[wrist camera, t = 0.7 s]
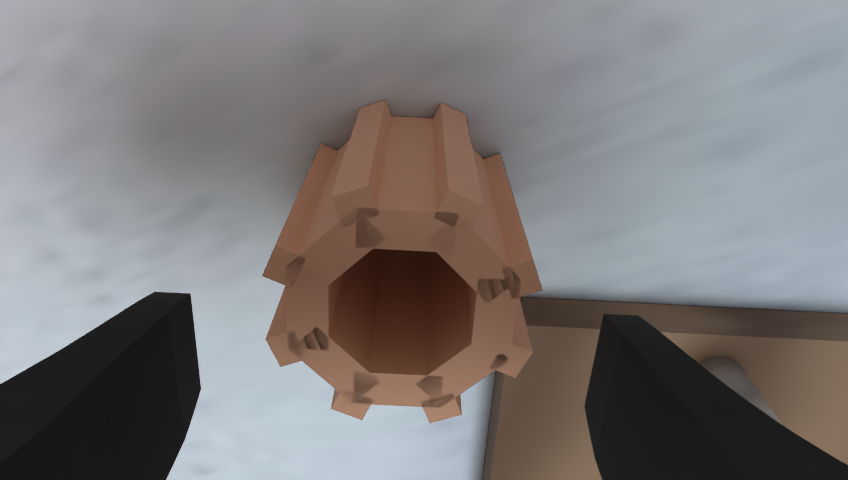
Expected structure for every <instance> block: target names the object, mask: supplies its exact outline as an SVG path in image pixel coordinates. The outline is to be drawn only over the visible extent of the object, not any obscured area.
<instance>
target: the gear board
mask: <svg viewBox="0 0 848 480" xmlns="http://www.w3.org/2000/svg"><path fill="white" fill-rule="evenodd" d="M519 298H520V302H521V306H522V310H523V314H524V318H525V322H526V327H527V331H528V335H529V339H530V343H531V347H532V351H533V353H532V354H531V356H530V357H529V359H528V360H527V362H526V363H525V365H524V366H523V368H522V369H521V371H520V372H519V374H518V375H517V376H516V378H514V377H512V376H509V375H507V374H504V373H502V372H499V371H497V370H496V374H495V382H494V389H493V397H492V405H491V412H490V420H489V428H488V435H487V443H486V451H485V458H484V466H483V474H482V480H602V478H601V475H600V472H599V469H598V466H597V463H596V460H595V457H594V452H593V448H592V443H591V438H590V434H589V428H588V423H587V417H586V412H585V407H584V405H585V401H586V396H587V391H588V386H589V381H590V377H591V372H592V367H593V362H594V357H595V352H596V348H597V343H598V338H599V333H600V328H601V323H602V319H603V314H618V315H638V316H640V317H641V318H642V319H644V320H645V321H647V322H648V323H649V324H651V325H652V326H653V327H655V328H656V329H657V330H658V331H660V332H661V333H662V334H663V335H665V336H666V337H667V338H668V339H670V340H671V341H672V342H673V343H674V344H676V345H677V346H678V347H679V348H681V349H682V350H683V351H684V352H685V353H687V354H688V355H689V356H690V357H692V358H693V359H694V360H695V361H697V362H698V363H699V364H700V365H702V366H703V367H704V368H705V369H707V370H708V371H709V372H710V373H712V374H713V375H714V376H715V377H717V378H718V379H719V380H721V381H722V382H723V383H725V384H726V385H727V386H728V387H730V388H731V389H732V390H734V391H735V392H736V393H738V394H739V395H740V396H742V397H743V398H745V399H746V400H747V401H749V402H750V403H752V404H753V405H754V406H756V407H757V408H759V409H760V410H761V411H763V412H764V413H766V414H767V415H769V416H770V417H771V418H773V419H774V420H776V421H777V422H779V423H780V424H782V425H783V426H785V427H786V428H788V429H789V430H791V431H792V432H794V433H795V434H797V435H798V436H800V437H802V438H803V439H805V440H807V441H808V442H810V443H812V444H813V445H815V446H817V447H818V448H820V449H821V450H823V451H825V452H826V453H828V454H830V455H831V456H833V457H835V458H836V459H838V460H840V461H841V462H843V463H845V464H847V465H848V314H842V313H822V312H802V311H783V310H763V309H744V308H724V307H704V306H685V305H665V304H645V303H626V302H606V301H586V300H567V299H547V298H528V297H519Z"/></svg>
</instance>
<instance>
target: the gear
mask: <svg viewBox="0 0 848 480" xmlns="http://www.w3.org/2000/svg"><path fill="white" fill-rule="evenodd" d="M262 276H264V277H266V278H269V279H271V280H274V281H276V282H279V283H281V284H284V285H286V286H285V289H284V291H283V294H282V297H281V299H280V302H279V305H278V307H277V310H276V313H275V315H274V318H273V321H272V323H271V326H270V329H269V332H268V334H267V337H266V341H267V343H268V344H269V346H270V348H271V350H272V352H273V354H274V356H275V357H276V359H277V361H278V363H279V365H280V367H282V366H285V365H288V364H292V363H295V362H299V361H303V362H304V363H305V364H306V365H308V366H309V367H310V368H311V369H312V370H314V371H315V372H316V373H317V374H318V375H319V376H321V377H322V378H323V379H324V380H325V381H327V382H328V383H329V384H330V385H331V386H333V387H334V388H335V390H334V395H333V401H332V406H331V409H333V410H336V411H339V412H342V413H344V414H347V415H350V416H352V417H355V418H358V419H360V420H362V419H363V418H364V416H365V414H366V412H367V411H368V409H369V407H370V405H371V404H375V405H396V406H417V407H423V409H424V411H425V413H426V416H427V418H428V420H429V422H430V423H433V422H436V421H440V420H444V419H447V418H451V417H455V416H459V415H462V412H461V398H460V394H461V393H463V392H464V391H466V390H467V389H468V388H470V387H471V386H473V385H474V384H476V383H477V382H479V381H480V380H481V379H483V378H484V377H486V376H487V375H489V374H490V373H492V372H493V371H494V370H497V371H499V372H502V373H504V374H507V375H509V376H512V377H514V378H516V376H517V375H518V374H519V372H520V371H521V369H522V368H523V366H524V365H525V363H526V362H527V360H528V359H529V357H530V356H531V354H532V353H533V351H532V347H531V343H530V339H529V335H528V331H527V327H526V322H525V318H524V314H523V310H522V306H521V302H520V298H519V297H521V296H525V295H528V294H532V293H535V292H538V291H542V287H541V283H540V280H539V277H538V274H537V271H536V267H535V264H534V261H533V258H532V255H531V251H530V248H529V245H528V242H527V239H526V235H525V232H524V229H523V226H522V223H521V219H520V216H519V213H518V210H517V207H516V203H515V200H514V197H513V194H512V190H511V187H510V184H509V181H508V178H507V174H506V171H505V168H504V165H503V162H502V158H501V155H500V154H497V155H494V156H491V157H488V158H485V159H483V158H482V157H481V156H480V155H479V154H478V153H477V151H476V150H475V149H474V148H473V147H472V145H471V140H470V135H469V130H468V125H467V120H466V115H465V114H464V113H462V112H460V111H458V110H456V109H454V108H452V107H450V106H447V105H445V104H443V103H440V105H439V107H438V109H437V111H436V113H435V115H434V117H433V118H418V117H401V116H392V115H391V113H390V110H389V107H388V105H387V102H386V99H384V100H382V101H379V102H376V103H373V104H370V105H367V106H364V107H361V108H360V109H359V112H358V115H357V118H356V121H355V124H354V127H353V130H352V133H351V137H350V140H349V141H348V142H347V143H345V144H344V145H343V146H342V147H341V148H340V149H339V150H338V151H337V150H334V149H332V148H330V147H328V146H326V145H323V144H320V147H319V149H318V151H317V153H316V156H315V158H314V160H313V162H312V165H311V167H310V169H309V171H308V174H307V176H306V178H305V180H304V183H303V185H302V187H301V189H300V191H299V194H298V196H297V198H296V200H295V203H294V205H293V207H292V209H291V212H290V214H289V216H288V218H287V221H286V223H285V225H284V227H283V229H282V232H281V234H280V236H279V238H278V241H277V243H276V245H275V247H274V250H273V252H272V254H271V257H270V259H269V261H268V264H267V266H266V268H265V271H264V273H263V275H262Z"/></svg>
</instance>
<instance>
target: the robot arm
mask: <svg viewBox="0 0 848 480" xmlns="http://www.w3.org/2000/svg"><path fill="white" fill-rule="evenodd" d="M200 390H201V386H200V377H199V368H198V359H197V349H196V340H195V331H194V322H193V313H192V304H191V295H190V294H186V293H165V292H154V293H152V294H150V295H148V296H146V297H145V298H143V299H141V300H140V301H138V302H136V303H135V304H133V305H131V306H130V307H128V308H127V309H125V310H123V311H122V312H120V313H119V314H117V315H116V316H114V317H112V318H111V319H109V320H108V321H106V322H105V323H103V324H101V325H100V326H98V327H97V328H95V329H93V330H92V331H90V332H89V333H87V334H85V335H84V336H82V337H81V338H79V339H77V340H76V341H74V342H73V343H71V344H69V345H68V346H66V347H65V348H63V349H61V350H60V351H58V352H56V353H54V354H53V355H51V356H49V357H47V358H46V359H44V360H42V361H40V362H39V363H37V364H35V365H33V366H32V367H30V368H28V369H26V370H25V371H23V372H21V373H19V374H18V375H16V376H14V377H12V378H11V379H9V380H7V381H5V382H3V383H2V384H0V480H166V478H167V476H168V474H169V472H170V470H171V468H172V466H173V464H174V462H175V459H176V457H177V455H178V453H179V451H180V449H181V447H182V444H183V442H184V440H185V437H186V434H187V431H188V428H189V425H190V422H191V419H192V416H193V413H194V410H195V406H196V403H197V400H198V397H199V393H200ZM584 407H585V412H586V417H587V423H588V428H589V434H590V438H591V443H592V448H593V452H594V457H595V460H596V463H597V466H598V469H599V472H600V475H601V478H602V480H848V465H847V464H845V463H843V462H841V461H840V460H838V459H836V458H835V457H833V456H831V455H830V454H828V453H826V452H825V451H823V450H821V449H820V448H818V447H817V446H815V445H813V444H812V443H810V442H808V441H807V440H805V439H803V438H802V437H800V436H798V435H797V434H795V433H794V432H792V431H791V430H789V429H788V428H786V427H785V426H783V425H782V424H780V423H779V422H777V421H776V420H774V419H773V418H771V417H770V416H769V415H767V414H766V413H764V412H763V411H761V410H760V409H759V408H757V407H756V406H754V405H753V404H752V403H750V402H749V401H747V400H746V399H745V398H743V397H742V396H740V395H739V394H738V393H736V392H735V391H734V390H732V389H731V388H730V387H728V386H727V385H726V384H725V383H723V382H722V381H721V380H719V379H718V378H717V377H715V376H714V375H713V374H712V373H710V372H709V371H708V370H707V369H705V368H704V367H703V366H702V365H700V364H699V363H698V362H697V361H695V360H694V359H693V358H692V357H690V356H689V355H688V354H687V353H685V352H684V351H683V350H682V349H681V348H679V347H678V346H677V345H676V344H674V343H673V342H672V341H671V340H670V339H668V338H667V337H666V336H665V335H663V334H662V333H661V332H660V331H658V330H657V329H656V328H655V327H653V326H652V325H651V324H649V323H648V322H647V321H645V320H644V319H642V318H641V317H640V316H638V315H618V314H603V319H602V323H601V328H600V333H599V338H598V343H597V348H596V352H595V357H594V362H593V367H592V372H591V377H590V381H589V386H588V391H587V396H586V401H585V405H584Z"/></svg>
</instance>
